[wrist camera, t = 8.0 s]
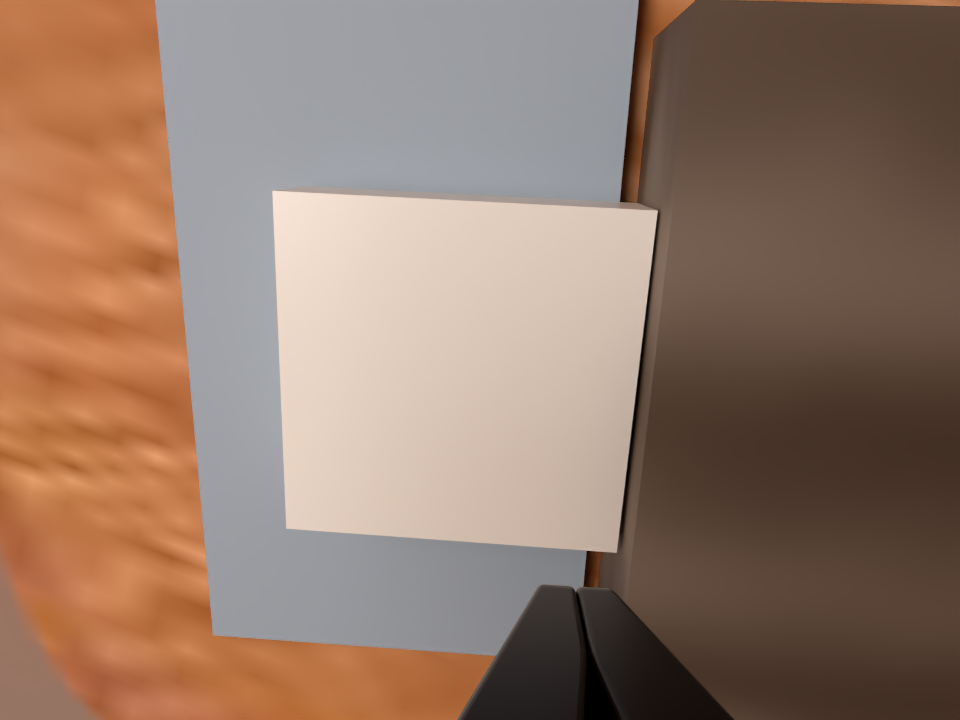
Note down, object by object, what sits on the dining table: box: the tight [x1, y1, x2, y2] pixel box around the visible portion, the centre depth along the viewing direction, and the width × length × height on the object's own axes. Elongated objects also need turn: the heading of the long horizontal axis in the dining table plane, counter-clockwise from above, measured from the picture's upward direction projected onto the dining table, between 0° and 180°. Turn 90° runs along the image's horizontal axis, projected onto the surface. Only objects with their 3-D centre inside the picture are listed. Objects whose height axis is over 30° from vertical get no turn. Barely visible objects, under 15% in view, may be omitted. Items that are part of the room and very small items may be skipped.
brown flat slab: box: [598, 0, 960, 720], centre depth 16 cm, size 16×14×4 cm
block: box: [272, 186, 658, 553], centre depth 16 cm, size 8×8×2 cm
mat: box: [155, 0, 639, 656], centre depth 18 cm, size 18×11×1 cm, turn 178°
